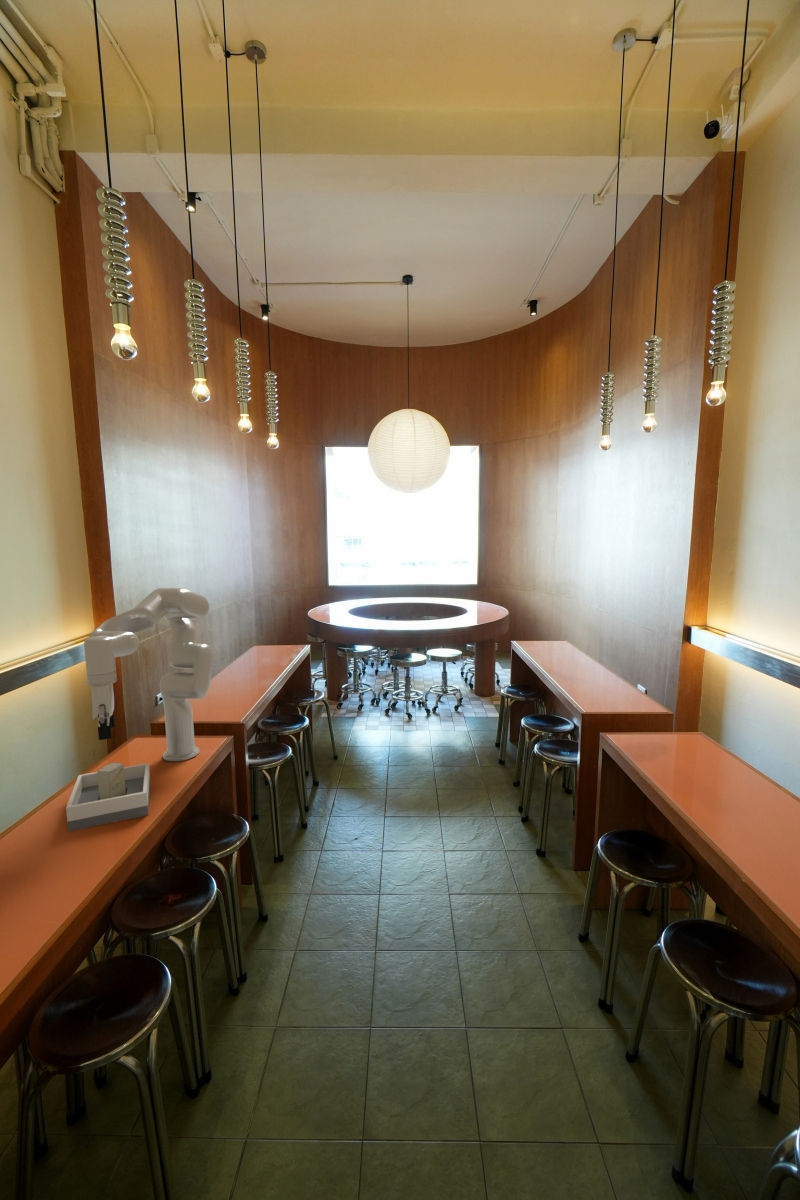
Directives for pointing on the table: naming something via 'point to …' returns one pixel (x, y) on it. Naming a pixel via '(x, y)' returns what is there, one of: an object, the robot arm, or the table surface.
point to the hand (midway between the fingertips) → (107, 733)
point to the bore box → (93, 811)
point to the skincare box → (111, 781)
